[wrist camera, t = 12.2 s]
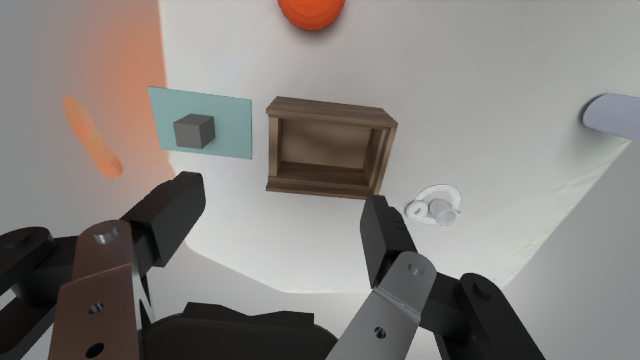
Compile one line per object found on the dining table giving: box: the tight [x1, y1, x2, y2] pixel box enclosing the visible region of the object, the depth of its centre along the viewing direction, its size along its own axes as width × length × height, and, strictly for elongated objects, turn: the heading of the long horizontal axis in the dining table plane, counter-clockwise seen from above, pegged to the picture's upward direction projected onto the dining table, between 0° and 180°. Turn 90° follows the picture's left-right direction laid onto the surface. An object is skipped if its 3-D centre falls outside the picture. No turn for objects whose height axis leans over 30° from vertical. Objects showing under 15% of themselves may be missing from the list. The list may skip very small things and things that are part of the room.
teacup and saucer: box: [406, 184, 461, 226], centre depth 38 cm, size 9×8×4 cm
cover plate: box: [147, 86, 252, 159], centre depth 31 cm, size 8×13×5 cm, turn 83°
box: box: [266, 96, 398, 200], centre depth 31 cm, size 10×14×7 cm
